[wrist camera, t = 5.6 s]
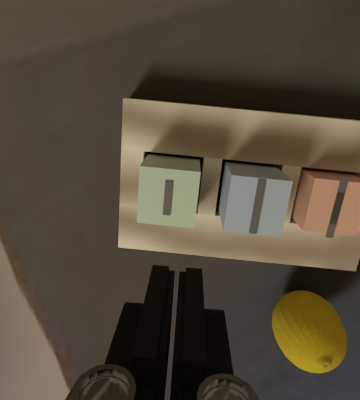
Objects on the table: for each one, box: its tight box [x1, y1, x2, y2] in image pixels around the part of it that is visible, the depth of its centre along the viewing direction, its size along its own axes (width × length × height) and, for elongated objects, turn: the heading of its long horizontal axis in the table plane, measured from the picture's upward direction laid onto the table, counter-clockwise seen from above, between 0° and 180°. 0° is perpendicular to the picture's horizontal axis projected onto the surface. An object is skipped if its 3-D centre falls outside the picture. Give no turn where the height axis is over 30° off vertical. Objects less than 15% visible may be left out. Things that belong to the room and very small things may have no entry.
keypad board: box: [118, 98, 360, 271], centre depth 26 cm, size 12×20×2 cm, turn 85°
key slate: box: [218, 162, 293, 237], centre depth 23 cm, size 4×4×4 cm
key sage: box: [137, 154, 201, 228], centre depth 23 cm, size 4×4×4 cm
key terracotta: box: [291, 167, 360, 238], centre depth 25 cm, size 5×4×4 cm
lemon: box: [272, 290, 347, 373], centre depth 27 cm, size 6×6×8 cm
